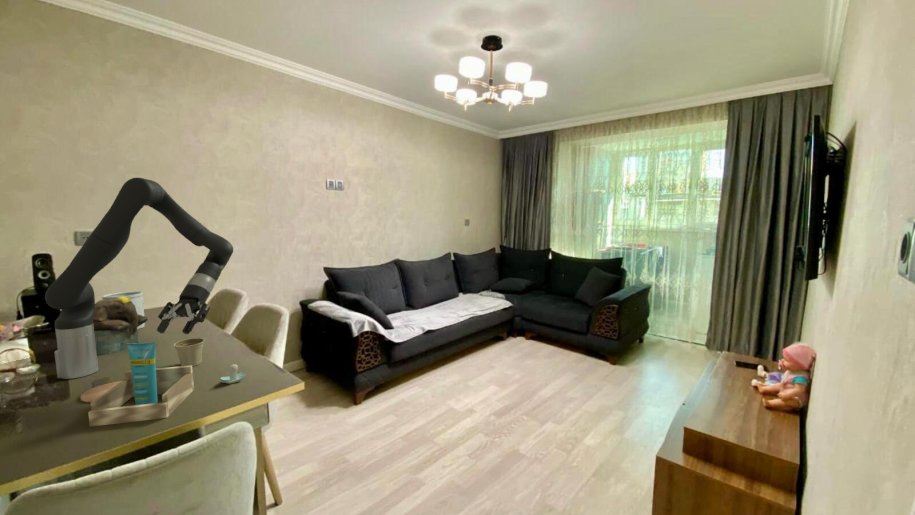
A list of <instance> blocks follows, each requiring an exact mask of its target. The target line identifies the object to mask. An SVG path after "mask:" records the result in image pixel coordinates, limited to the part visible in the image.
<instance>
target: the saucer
mask: <svg viewBox="0 0 915 515" xmlns="http://www.w3.org/2000/svg"><path fill="white" fill-rule="evenodd" d="M121 381H122V380H118V381H111V382H108V383H104V384H100V385H98V386H94V387H92V388H89V389H88V390H86V391H84V392H82V393H81V395H80V401H81V402H83V403H91V402H92V401H94V400H95V399H97V398H98V397H100V396H101V395H103V394H104V393H105V392H107V391H108V390H110V389H111V388H113V387H114V386H116V385H117V384H119V383H120V382H121Z"/></svg>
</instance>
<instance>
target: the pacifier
mask: <svg viewBox="0 0 915 515" xmlns="http://www.w3.org/2000/svg"><path fill="white" fill-rule="evenodd" d="M238 368H239V366H238V365H237V364H236V363H233V364H231V365H229V366H228V368H227V372H228V373H229V374H228V376H221V377H220V380H221V381H220V382H221V383H222V384H235V383H237V382H240V381H241V380H242V379H243V378H245V376H246V374H247V373H246V371H241V372H239V373H238V370H239V369H238Z"/></svg>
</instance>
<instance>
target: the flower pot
mask: <svg viewBox="0 0 915 515" xmlns="http://www.w3.org/2000/svg"><path fill="white" fill-rule="evenodd" d="M205 341H206V339H205V338H202V337H201V338H200V337H193V338H187V339H183V340H179V341H177V342H175V343H173V347H175V350H176V352H177V355H178V359H179V363H180V366H191V365H192V366H193V367H195V366H199V365H200V364H201V363H202V360H203V346H204V344H205Z"/></svg>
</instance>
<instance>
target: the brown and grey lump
mask: <svg viewBox="0 0 915 515" xmlns="http://www.w3.org/2000/svg"><path fill="white" fill-rule="evenodd" d="M147 321H148V317H147V316H145V315H144V316H142V315H139V314H137V311H136V307H135V305H134V304H133V303H132V302H131V299H130V298H128V297H125V296H122V297H118V298H115V299H107V300H103V299H101V300H98V301H97V302H95V315H94V318H93V324H94V333H95V342H96V351H97V357H98V356H99V355H100V356H106V355H105V354H107V355H111V354H116V353H120V352H124V351H128V348H127V344H126V343H129V344H131V343H139V329H137V327H138V326H140V325H142V324H143V323H145V324H146V322H147ZM100 356H99V357H100Z"/></svg>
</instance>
